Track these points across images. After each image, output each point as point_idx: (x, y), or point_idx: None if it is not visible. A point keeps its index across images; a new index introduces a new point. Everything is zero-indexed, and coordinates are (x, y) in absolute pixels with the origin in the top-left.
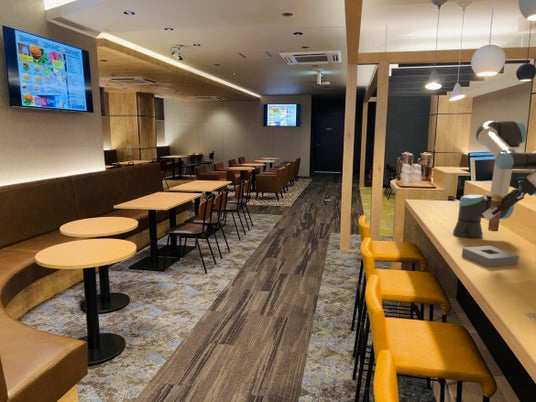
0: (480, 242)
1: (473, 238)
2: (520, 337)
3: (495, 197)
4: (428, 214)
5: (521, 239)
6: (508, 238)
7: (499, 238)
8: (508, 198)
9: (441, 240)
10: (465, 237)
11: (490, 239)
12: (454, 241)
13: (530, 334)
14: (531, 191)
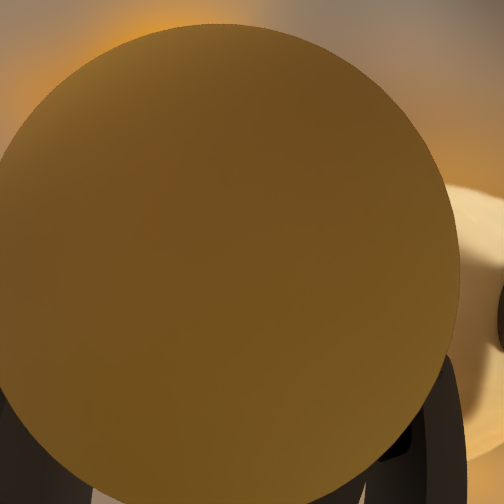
0: (471, 332)
1: (498, 319)
2: None
3: (55, 142)
4: None
5: (480, 452)
6: (493, 423)
7: (496, 400)
8: (32, 491)
9: (465, 197)
10: (502, 293)
11: (493, 373)
12: (468, 240)
13: None
14: None
